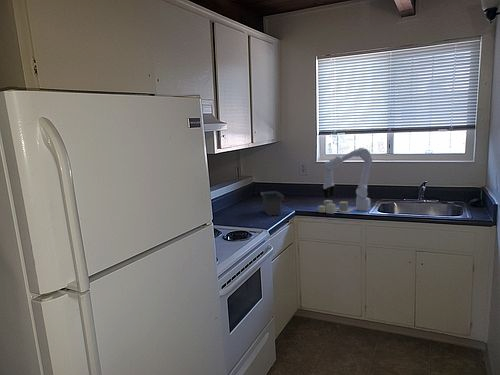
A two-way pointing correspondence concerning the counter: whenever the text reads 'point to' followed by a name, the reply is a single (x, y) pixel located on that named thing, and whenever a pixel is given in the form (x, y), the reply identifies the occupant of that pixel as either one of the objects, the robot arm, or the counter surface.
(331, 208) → the block
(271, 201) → the storage bin
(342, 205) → the din rail
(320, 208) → the block
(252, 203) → the counter surface
